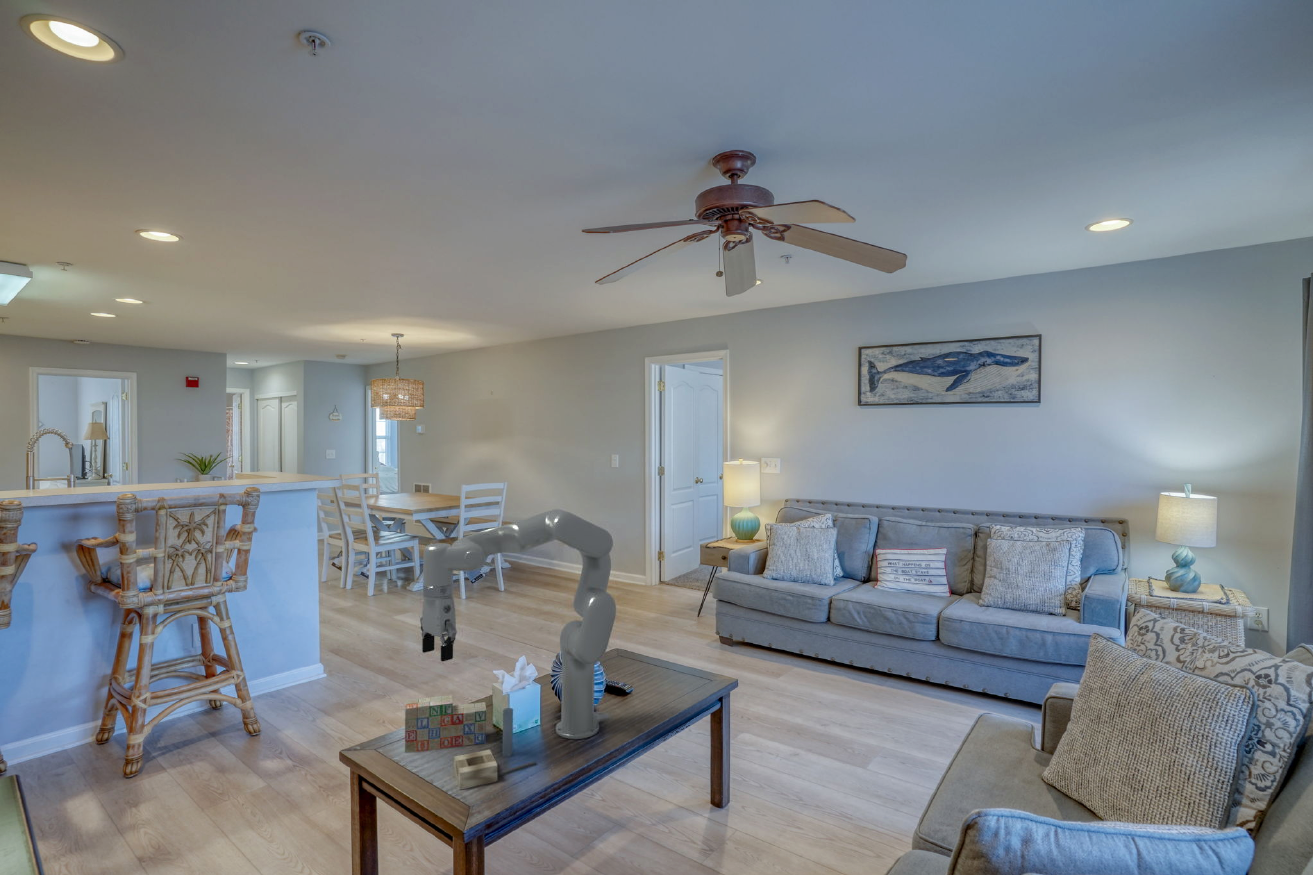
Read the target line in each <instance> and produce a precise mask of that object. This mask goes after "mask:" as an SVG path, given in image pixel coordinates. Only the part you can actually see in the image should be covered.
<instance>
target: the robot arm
mask: <svg viewBox="0 0 1313 875" xmlns="http://www.w3.org/2000/svg"><path fill="white" fill-rule="evenodd" d="M553 541H558V542H561V543H562V544H565V545H566V546H568V547H570V548H572V549H574V550H577V551H579V553H580V556H581V559H582V560H581V561H582V569H581V572H580V573H581V574H580V576H579V581H578V585H577V588H576V591H575V595H574V598H573V606H572V607H573V609H574V611H575V613H576V614H577V615H579V617H582V620H579V619H578V620H577V619H574V620H571V621H570V622H567V623H566V624H565V625H564V627H563V628H562V630H561V632H560V634H559V646H560V656H561V709H560V710H561V712H560V713H561V714H560V715H561V716H560V717H561V720H560V721H559V722H557V724H556V725H555V732H556V734H557V735H558V736H560V737H562V738H565V739H568V740H569V739H570V740H581V739H587V738H589V737H592V736H594V735H596V734H597V733H598V732H599V730H600V724H599V723H600V721H601V722H602V721H608V720H610V719H611V718H610V717H611V716H610V713H609V712H604V713H603V711H602V710H600V711H596V712H595V664H596V663H598V662H599V661H600V660H601V659H602V658H603V657H604V655H605V653H606V651H607V649H608V646H609V643H610V638H611V635H612V630H613V627H614V624H615V620H616V615H617V614H616V613H617V604H616V601H615V599H614V597H613V596H612V595H611V594H610V593H608V591H607V589H608V585H609V580H610V577H611V571H612V561H611V554H610V552H612V549H613V546H614V541H613V537H612V535H611V533H610V532H609V531H608V530H606V529H604V528H603V527H600V526H598V525H596V524H595V523H592V522H590V521H587V520H586V519H584V518H582V517H579V516H578V515H577V514H574V513H572V512H570V511H566V510H562V509H551V510H548V511H544V512H541V513H538V514H536V515H532V516H530V517H528V518H525V519H521V520H518V521H515V522H512V523H509V524H504V525H501V526H496V527H493V528H489V529H485V530H481V531H478V532H475V533H473V534H472V533H471V534H469V535H466V536H463V537H461V538H459V539H456V540H455V541H454V542H453V543H452V545H451V544H450V543H443V542H442V543H441V542H438V543H431V544H427V545H426V546H424V548H423V554H422V556H423V558H422V559H423V564H422V565H423V566H422V567H423V568H422V570H423V572H422V573H423V574H422V575H423V577H422V581H423V582H422V584H423V585H422V598H423V602H422V611H421V612H422V613H421V614H422V616H421V617H420V618H419V621H420V630H421V638H422V642H421V643H422V646H421V648H422V653H423V654H424V653H429V652H433V651H435V638H436V637H437V638H440V641H441V642H440V643H441V645H440V662H442V663H443V662H447V661H450V660H453V659H454V645H455V640H456V635H457V631H458V630H457V625H456V624H457V623H456V619H457V618H456V605H455V600H454V597H453V596H454V572H455V571H456V572H473V571H476V570H478V569H480V568H481V567H483V565H484V563H485V560H486V557H490V556H492V555H493V556H494V555H497V554H503V553H504V554H508V553H509V554H510V553H511V554H515V553H516V554H517V553H523V552H526V551H529V550H531V549H534V548H536V547H539V546H542V545H545V544H548V543H550V542H553Z"/></svg>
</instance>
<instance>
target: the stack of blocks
mask: <svg viewBox="0 0 1313 875" xmlns="http://www.w3.org/2000/svg"><path fill="white" fill-rule="evenodd" d="M453 699H454V698H453V694H450V695H441V696H432V697H424V698H414V699H413V698H411V699H407V700H406V704H405V709H404V711H405V713H404V715H405V716H404V717H405V718H404V741H405V742H404V753H405V754H407V753H416V752H424V751H434V750H441V749H448V748H456V747H462V746H463V747H465V746H474V745H481V744H487V742H486V741H487V706H486V702H485V701H484V702H483V701H482V702H476V703H473V702H472V703H464V704H454V700H453Z"/></svg>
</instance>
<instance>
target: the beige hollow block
mask: <svg viewBox="0 0 1313 875" xmlns="http://www.w3.org/2000/svg"><path fill="white" fill-rule="evenodd" d="M453 774H454V777H455V780H456V783H457V786H458V788H459V791H460V790H465V789H466V790H467V789H470V788H474V787H478V786H479V787H480V786H483V785H486V784H491V783H492V784H493V783H496V782H498V763H497V761H496V759H495V758H494V754H493V753H492V751H491V749H485V750H481V751H475V752H471V753H465V754H461V755H456V756H453Z"/></svg>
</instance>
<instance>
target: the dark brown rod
mask: <svg viewBox="0 0 1313 875" xmlns="http://www.w3.org/2000/svg"><path fill="white" fill-rule="evenodd" d="M535 765H537V762H536V761H535V760H534V761H531V762H528V763H525V764H521V765H518V766H516V767H515V766H514V767H512V768H508V769H506V770H501V771H499V772H498V776H499V777H500V776H504V775H507V774H510V773H514V772H516V771H520V770H523V769H526V768H529V767H532V766H535Z"/></svg>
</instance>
